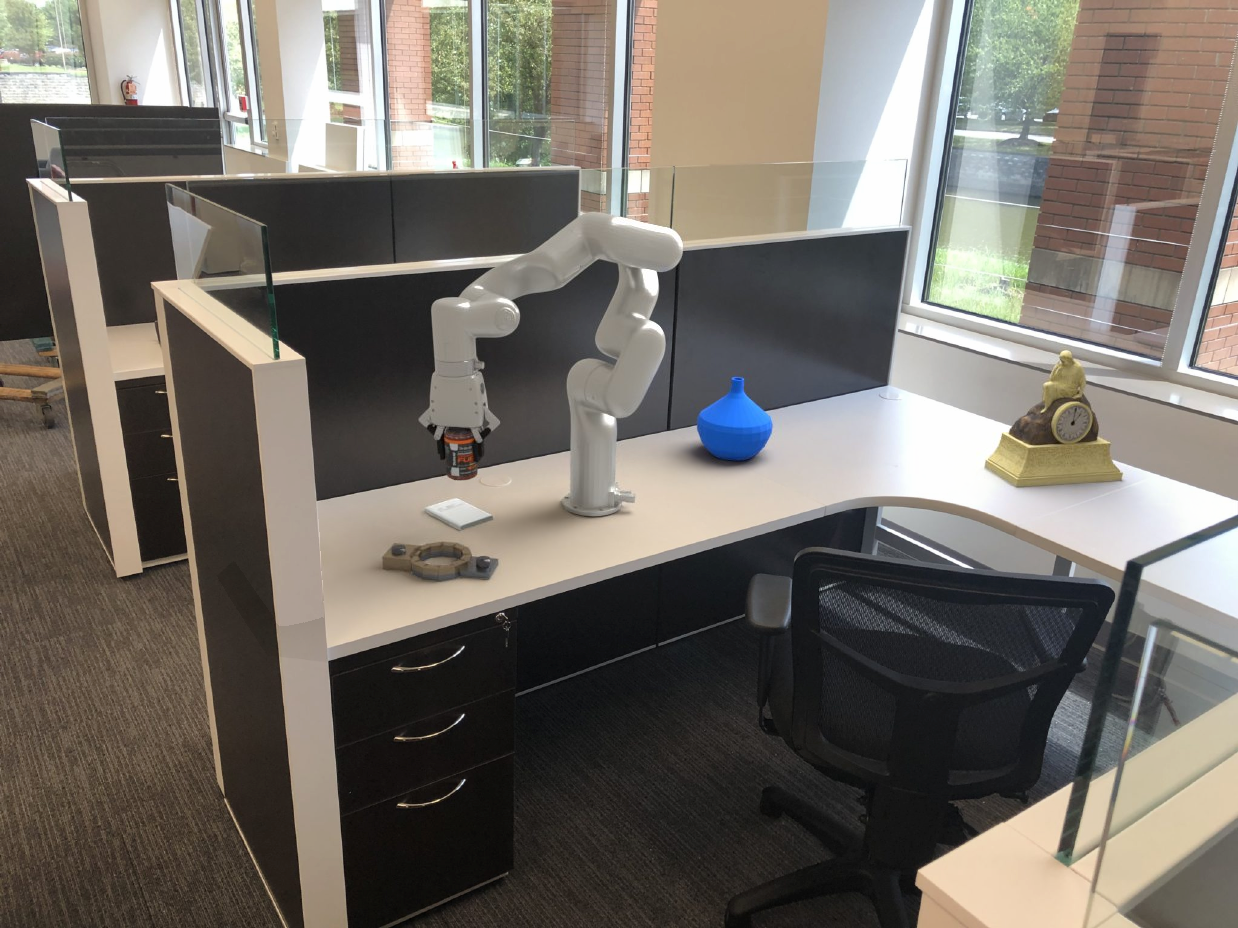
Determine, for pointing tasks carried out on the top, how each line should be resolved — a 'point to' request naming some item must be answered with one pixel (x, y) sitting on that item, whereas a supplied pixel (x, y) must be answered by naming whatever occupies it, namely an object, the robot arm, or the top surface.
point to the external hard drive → (458, 513)
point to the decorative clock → (1056, 437)
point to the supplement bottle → (460, 453)
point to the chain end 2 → (476, 569)
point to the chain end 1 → (410, 554)
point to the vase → (734, 425)
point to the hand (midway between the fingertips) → (461, 457)
